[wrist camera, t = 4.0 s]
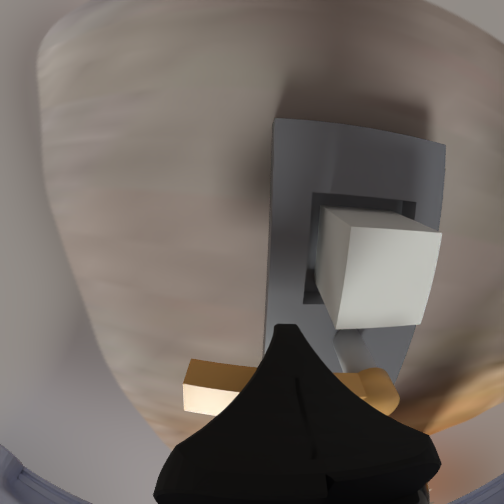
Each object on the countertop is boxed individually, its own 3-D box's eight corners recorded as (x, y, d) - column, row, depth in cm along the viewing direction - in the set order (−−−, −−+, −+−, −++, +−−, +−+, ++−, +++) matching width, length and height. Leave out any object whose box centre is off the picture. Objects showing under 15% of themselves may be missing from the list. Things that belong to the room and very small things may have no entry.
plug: (390, 210, 14) (442, 233, 9) (379, 279, 15) (420, 324, 10) (320, 205, 14) (351, 226, 9) (313, 279, 15) (335, 329, 10)
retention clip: (191, 352, 10) (182, 377, 9) (395, 366, 10) (408, 388, 9) (190, 390, 11) (184, 414, 10) (377, 400, 11) (386, 422, 10)
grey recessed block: (422, 145, 13) (489, 144, 8) (359, 419, 20) (376, 471, 14) (272, 125, 14) (280, 99, 8) (258, 424, 20) (257, 483, 14)
